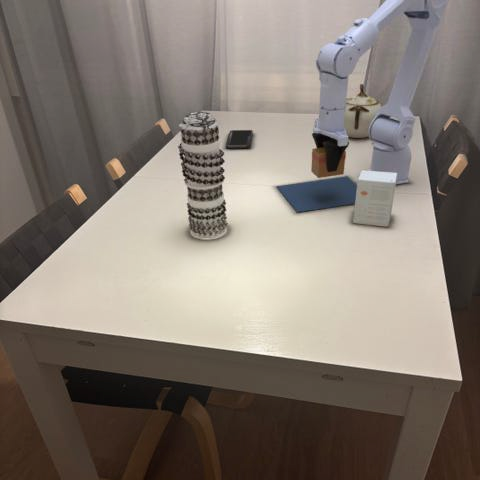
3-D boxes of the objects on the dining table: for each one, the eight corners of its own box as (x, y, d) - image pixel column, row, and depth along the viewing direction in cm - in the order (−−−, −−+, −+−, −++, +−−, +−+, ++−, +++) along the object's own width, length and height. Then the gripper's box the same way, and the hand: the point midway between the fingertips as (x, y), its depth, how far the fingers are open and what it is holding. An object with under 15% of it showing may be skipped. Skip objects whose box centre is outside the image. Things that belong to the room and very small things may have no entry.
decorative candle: (183, 226, 109) (168, 113, 94) (220, 218, 112) (212, 106, 96) (195, 244, 103) (182, 125, 87) (235, 234, 105) (229, 117, 90)
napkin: (346, 177, 128) (346, 176, 128) (374, 201, 116) (374, 200, 116) (276, 187, 125) (276, 186, 125) (297, 213, 113) (297, 211, 113)
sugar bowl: (337, 124, 165) (341, 76, 155) (381, 126, 161) (388, 78, 152) (330, 142, 150) (334, 91, 141) (378, 145, 147) (385, 93, 137)
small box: (390, 216, 110) (398, 172, 103) (388, 227, 105) (396, 182, 99) (355, 212, 112) (361, 169, 105) (352, 223, 108) (357, 178, 101)
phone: (225, 145, 148) (230, 130, 160) (225, 148, 149) (230, 133, 161) (250, 145, 148) (253, 129, 159) (250, 148, 148) (253, 133, 160)
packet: (336, 167, 116) (338, 145, 112) (344, 174, 112) (346, 151, 109) (310, 171, 115) (312, 148, 111) (318, 178, 111) (319, 155, 108)
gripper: (303, 100, 109) (301, 158, 117) (328, 117, 98) (323, 180, 106) (332, 97, 110) (327, 155, 119) (359, 113, 99) (352, 176, 108)
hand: (327, 167), depth 113 cm, fingers closed on packet, 4 cm apart
